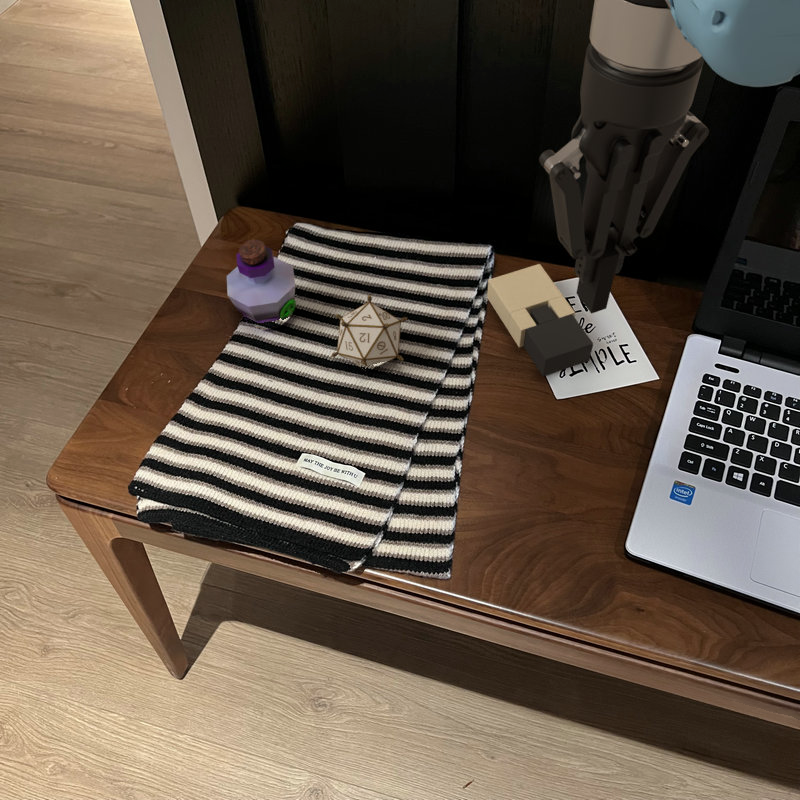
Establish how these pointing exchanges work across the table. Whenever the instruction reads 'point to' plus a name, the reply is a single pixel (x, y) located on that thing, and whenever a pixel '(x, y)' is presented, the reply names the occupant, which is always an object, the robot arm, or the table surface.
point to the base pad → (525, 299)
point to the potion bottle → (261, 284)
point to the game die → (369, 335)
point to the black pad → (556, 341)
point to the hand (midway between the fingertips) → (591, 300)
